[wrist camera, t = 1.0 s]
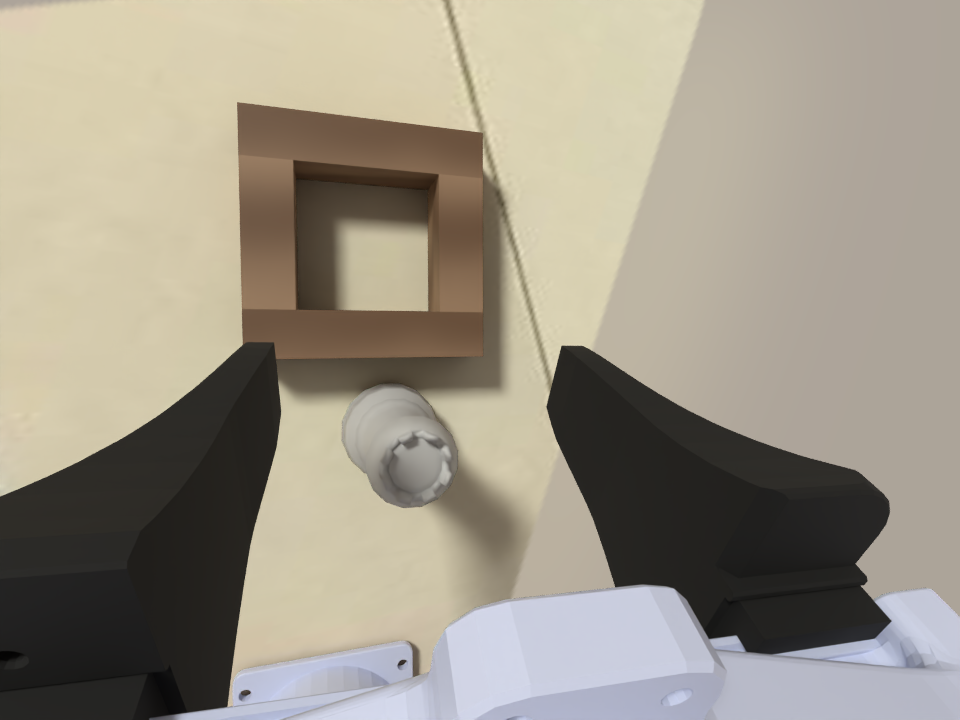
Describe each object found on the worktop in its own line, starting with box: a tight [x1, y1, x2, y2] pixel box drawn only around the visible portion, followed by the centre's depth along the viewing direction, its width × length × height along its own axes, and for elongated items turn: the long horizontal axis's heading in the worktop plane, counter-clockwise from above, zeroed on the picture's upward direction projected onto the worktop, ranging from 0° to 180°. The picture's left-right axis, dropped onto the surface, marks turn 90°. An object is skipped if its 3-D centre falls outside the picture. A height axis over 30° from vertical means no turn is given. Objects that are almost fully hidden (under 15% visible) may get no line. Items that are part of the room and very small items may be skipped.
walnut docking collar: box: [237, 102, 483, 359], centre depth 23 cm, size 10×10×2 cm
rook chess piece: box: [342, 383, 458, 508], centre depth 21 cm, size 4×4×8 cm
